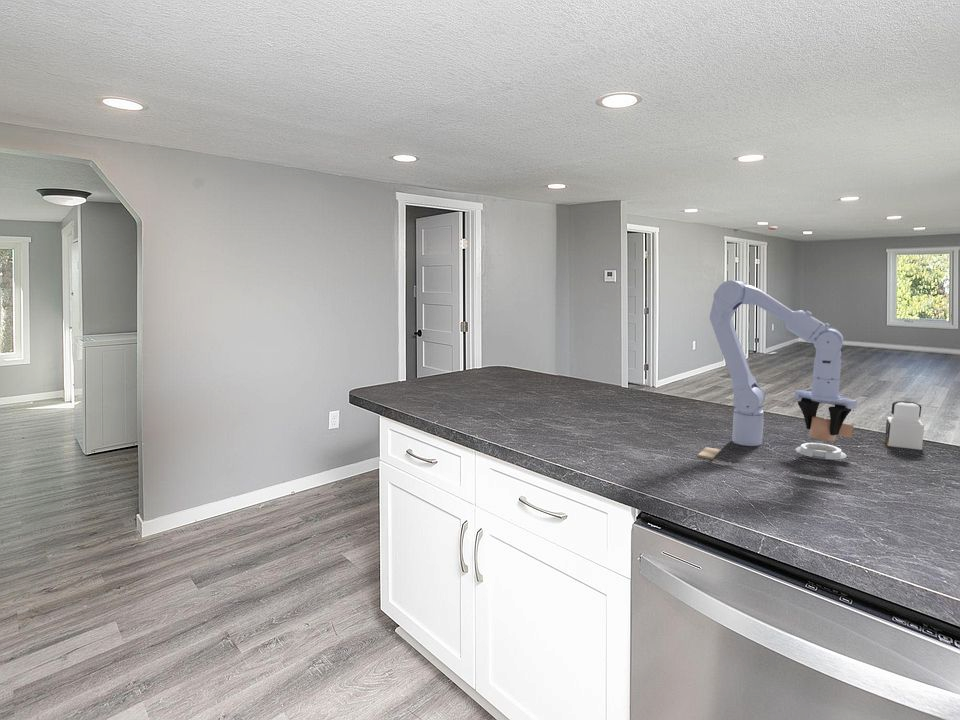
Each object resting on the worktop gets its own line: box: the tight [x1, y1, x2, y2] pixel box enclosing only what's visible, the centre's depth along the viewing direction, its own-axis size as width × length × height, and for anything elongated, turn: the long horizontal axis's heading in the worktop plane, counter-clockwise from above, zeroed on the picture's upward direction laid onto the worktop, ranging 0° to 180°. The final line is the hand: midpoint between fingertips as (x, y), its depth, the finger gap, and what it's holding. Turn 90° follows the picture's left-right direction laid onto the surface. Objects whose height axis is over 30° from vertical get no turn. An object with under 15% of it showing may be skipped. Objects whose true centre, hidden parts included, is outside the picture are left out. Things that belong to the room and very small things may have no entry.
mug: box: [808, 416, 854, 442], centre depth 140 cm, size 9×6×5 cm, turn 57°
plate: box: [795, 442, 847, 460], centre depth 142 cm, size 11×11×2 cm
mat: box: [697, 446, 731, 463], centre depth 143 cm, size 8×8×1 cm
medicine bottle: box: [884, 400, 925, 451], centre depth 147 cm, size 7×7×12 cm
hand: (822, 431), depth 141 cm, fingers closed on mug, 6 cm apart
